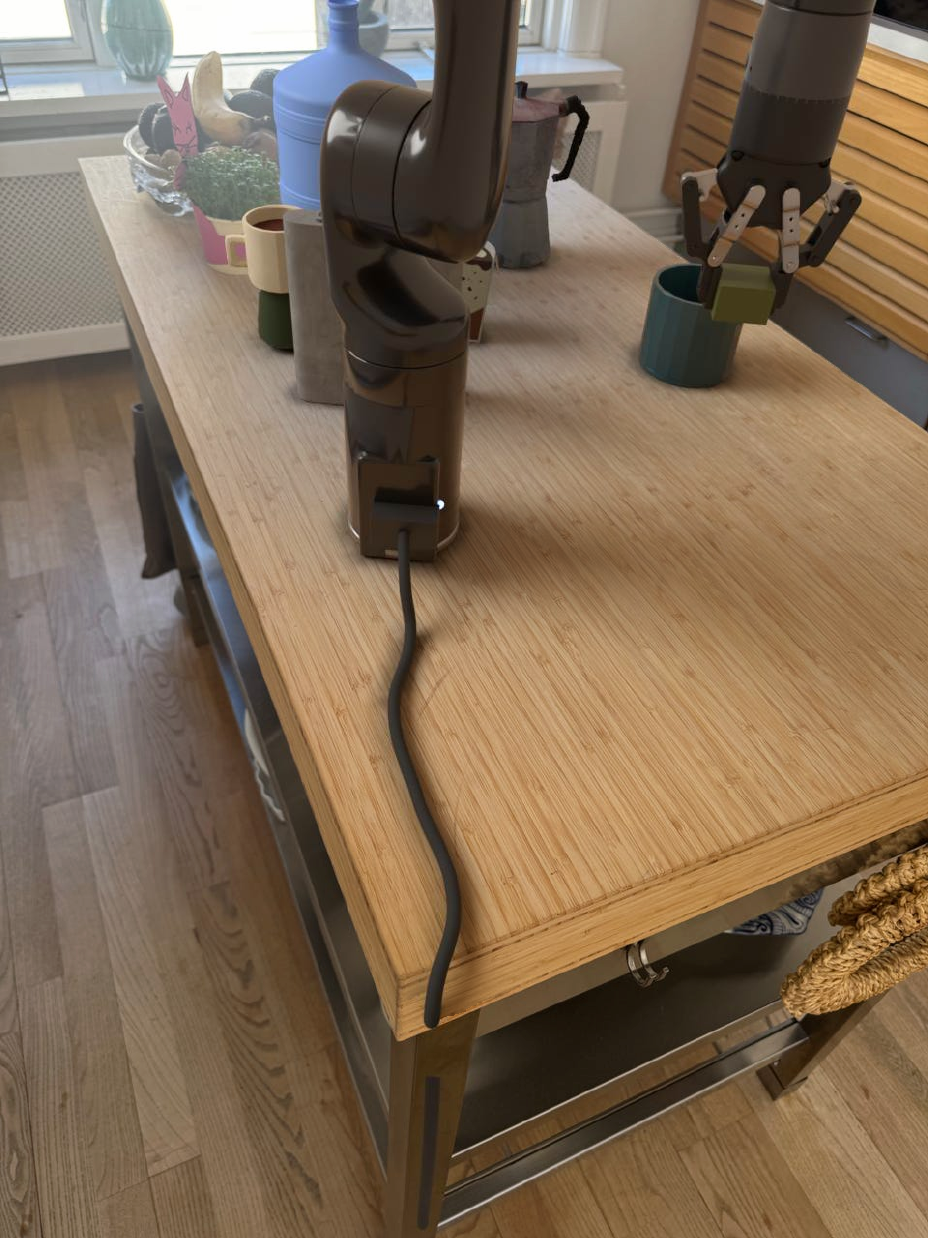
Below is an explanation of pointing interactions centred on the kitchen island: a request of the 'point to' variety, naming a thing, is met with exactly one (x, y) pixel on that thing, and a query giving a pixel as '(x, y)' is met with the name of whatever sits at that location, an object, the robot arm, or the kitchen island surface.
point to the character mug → (266, 270)
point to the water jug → (320, 100)
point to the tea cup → (685, 332)
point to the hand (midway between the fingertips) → (737, 307)
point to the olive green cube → (744, 295)
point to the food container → (478, 287)
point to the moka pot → (532, 177)
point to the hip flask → (320, 308)
